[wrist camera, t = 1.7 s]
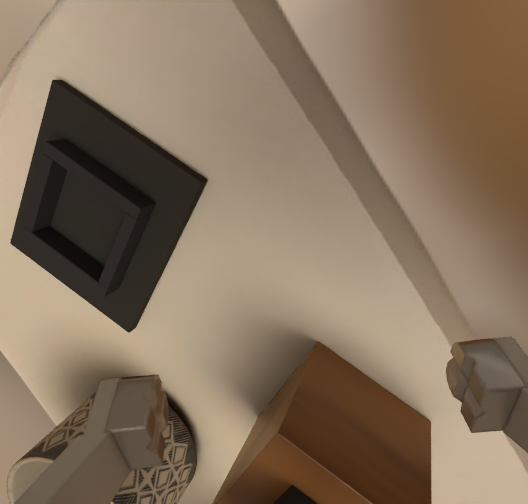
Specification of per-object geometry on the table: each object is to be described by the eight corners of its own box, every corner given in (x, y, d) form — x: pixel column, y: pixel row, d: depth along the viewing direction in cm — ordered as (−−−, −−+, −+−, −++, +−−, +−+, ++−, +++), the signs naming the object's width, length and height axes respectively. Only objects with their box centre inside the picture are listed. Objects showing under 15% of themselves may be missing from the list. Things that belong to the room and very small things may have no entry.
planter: (185, 380, 39) (109, 469, 29) (215, 491, 42) (155, 602, 33) (79, 374, 43) (-15, 448, 34) (113, 474, 47) (36, 566, 38)
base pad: (62, 79, 33) (30, 78, 30) (208, 180, 31) (187, 187, 29) (18, 240, 40) (-11, 250, 38) (135, 327, 39) (114, 344, 36)
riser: (318, 341, 33) (277, 432, 24) (431, 421, 32) (432, 548, 23) (258, 417, 37) (204, 518, 28) (354, 490, 36) (330, 617, 27)
